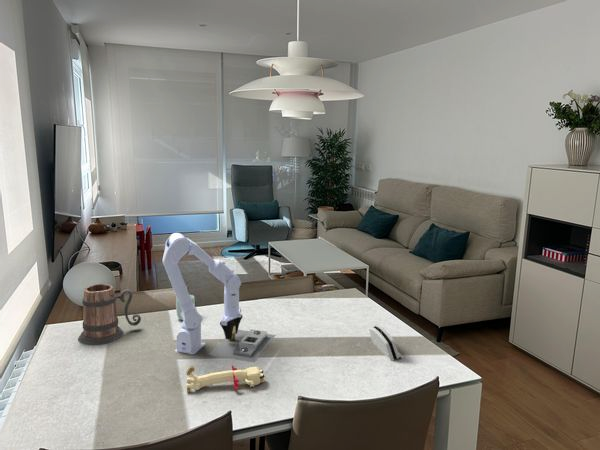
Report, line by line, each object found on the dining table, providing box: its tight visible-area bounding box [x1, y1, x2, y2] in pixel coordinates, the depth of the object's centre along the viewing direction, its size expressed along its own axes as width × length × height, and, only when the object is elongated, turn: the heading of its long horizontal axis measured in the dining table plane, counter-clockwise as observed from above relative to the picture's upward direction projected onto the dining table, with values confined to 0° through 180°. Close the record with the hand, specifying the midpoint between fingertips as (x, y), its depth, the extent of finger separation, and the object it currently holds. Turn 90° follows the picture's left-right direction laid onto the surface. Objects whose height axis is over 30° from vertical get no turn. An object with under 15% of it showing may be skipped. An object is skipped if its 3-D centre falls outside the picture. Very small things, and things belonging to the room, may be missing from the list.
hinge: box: [368, 324, 404, 362], centre depth 172 cm, size 17×5×10 cm, turn 16°
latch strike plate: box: [233, 329, 269, 357], centre depth 172 cm, size 18×7×3 cm, turn 165°
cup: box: [175, 294, 196, 321], centre depth 196 cm, size 8×8×10 cm
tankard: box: [77, 283, 142, 347], centre depth 178 cm, size 24×17×20 cm
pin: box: [228, 325, 235, 342], centre depth 176 cm, size 3×3×6 cm
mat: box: [207, 329, 276, 363], centre depth 173 cm, size 24×18×1 cm
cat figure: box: [186, 365, 267, 393], centre depth 144 cm, size 10×9×25 cm
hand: (231, 335), depth 176 cm, fingers open, 5 cm apart
